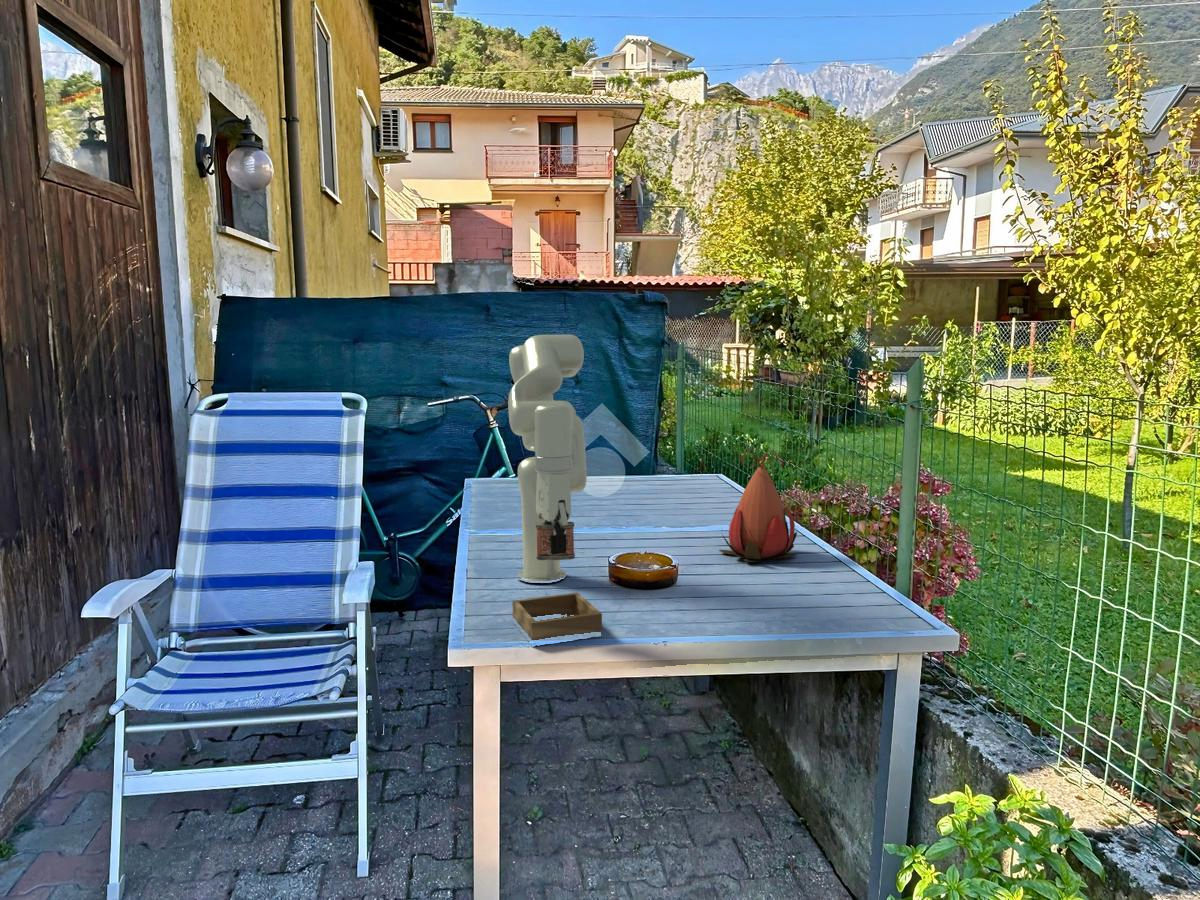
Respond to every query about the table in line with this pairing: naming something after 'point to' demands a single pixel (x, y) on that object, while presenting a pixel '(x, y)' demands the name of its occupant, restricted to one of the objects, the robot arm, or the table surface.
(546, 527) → the lighter
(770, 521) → the decorative flower
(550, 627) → the walled box
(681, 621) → the table surface
